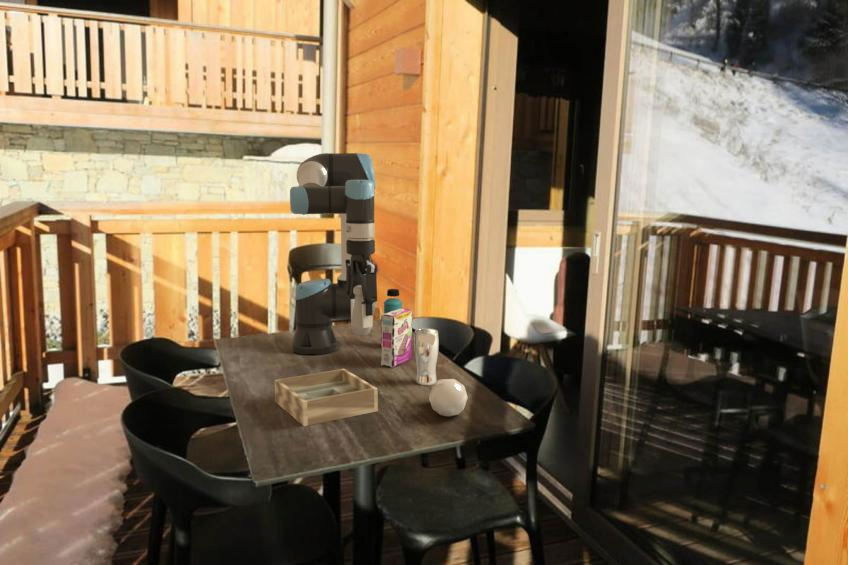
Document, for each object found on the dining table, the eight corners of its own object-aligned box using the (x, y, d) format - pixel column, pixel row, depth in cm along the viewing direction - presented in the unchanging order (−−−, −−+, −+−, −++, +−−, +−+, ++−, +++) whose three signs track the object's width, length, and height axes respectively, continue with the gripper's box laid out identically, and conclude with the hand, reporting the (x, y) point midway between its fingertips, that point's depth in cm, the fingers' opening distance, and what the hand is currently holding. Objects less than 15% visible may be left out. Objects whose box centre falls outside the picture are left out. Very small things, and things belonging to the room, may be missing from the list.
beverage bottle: (385, 344, 245) (384, 287, 241) (404, 344, 244) (404, 287, 240) (381, 349, 238) (381, 290, 235) (401, 350, 238) (400, 291, 234)
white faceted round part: (445, 428, 173) (440, 413, 188) (477, 405, 173) (470, 392, 188) (422, 398, 172) (420, 386, 187) (455, 374, 172) (449, 364, 187)
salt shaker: (369, 336, 188) (369, 288, 186) (348, 335, 189) (347, 287, 187) (374, 331, 194) (374, 284, 191) (354, 330, 195) (353, 283, 192)
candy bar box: (394, 368, 217) (393, 316, 214) (380, 366, 219) (379, 314, 216) (412, 359, 226) (412, 309, 223) (399, 357, 229) (399, 307, 226)
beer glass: (426, 376, 209) (426, 327, 206) (443, 381, 204) (443, 331, 201) (409, 381, 204) (409, 331, 201) (426, 387, 199) (426, 335, 197)
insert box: (275, 401, 187) (274, 380, 186) (344, 389, 197) (344, 368, 196) (303, 426, 170) (303, 402, 169) (377, 411, 181) (377, 388, 179)
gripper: (332, 236, 193) (333, 320, 197) (364, 243, 177) (365, 333, 181) (356, 235, 197) (358, 316, 201) (390, 241, 181) (391, 330, 185)
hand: (361, 324), depth 191 cm, fingers closed on salt shaker, 6 cm apart
